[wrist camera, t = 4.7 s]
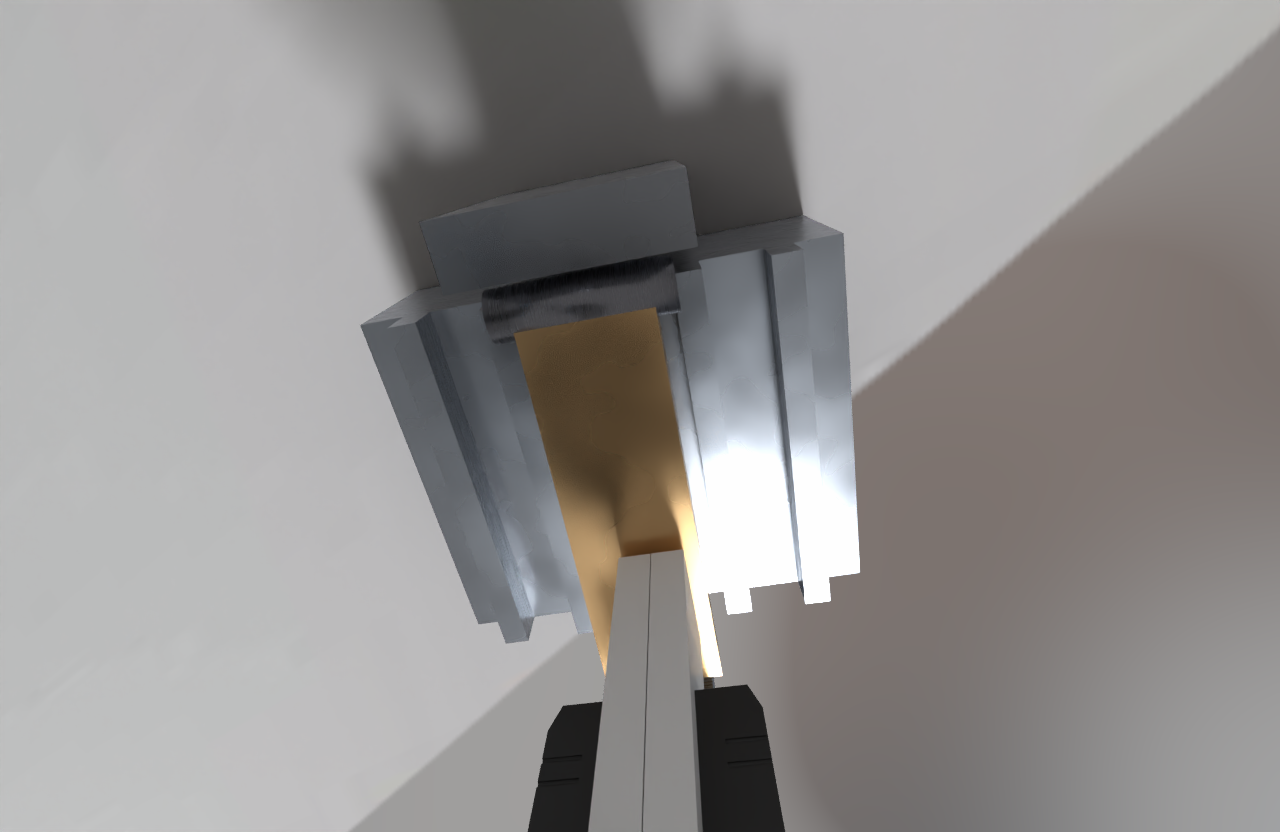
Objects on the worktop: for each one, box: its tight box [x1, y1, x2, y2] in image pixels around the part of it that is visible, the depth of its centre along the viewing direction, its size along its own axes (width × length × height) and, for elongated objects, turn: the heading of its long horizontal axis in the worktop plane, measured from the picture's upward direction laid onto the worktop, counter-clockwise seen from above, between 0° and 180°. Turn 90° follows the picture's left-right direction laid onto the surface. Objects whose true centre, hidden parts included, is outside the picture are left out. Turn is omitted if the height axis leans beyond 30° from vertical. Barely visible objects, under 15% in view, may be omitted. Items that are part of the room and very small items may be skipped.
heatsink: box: [360, 160, 860, 689], centre depth 15 cm, size 12×14×11 cm
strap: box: [482, 254, 722, 678], centre depth 14 cm, size 4×11×1 cm, turn 11°
